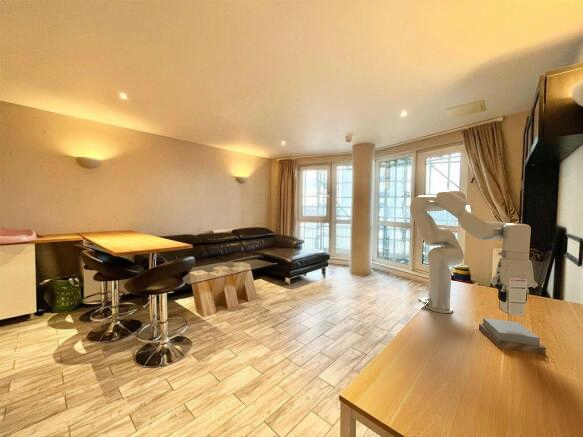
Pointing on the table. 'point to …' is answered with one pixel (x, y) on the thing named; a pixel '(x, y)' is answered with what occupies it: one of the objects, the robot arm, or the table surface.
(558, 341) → the table surface
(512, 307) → the syrup box
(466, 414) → the table surface
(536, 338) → the slate-grey slab
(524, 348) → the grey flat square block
